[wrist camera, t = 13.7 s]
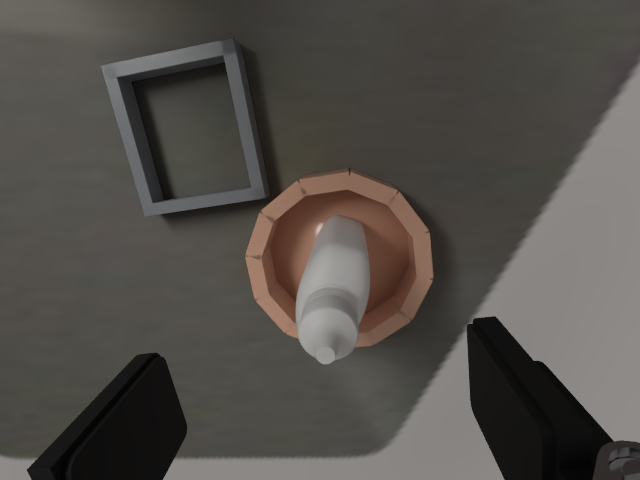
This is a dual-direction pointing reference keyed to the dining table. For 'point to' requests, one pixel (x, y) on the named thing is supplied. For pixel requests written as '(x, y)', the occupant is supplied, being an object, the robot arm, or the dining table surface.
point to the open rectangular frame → (135, 136)
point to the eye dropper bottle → (334, 290)
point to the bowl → (381, 239)
